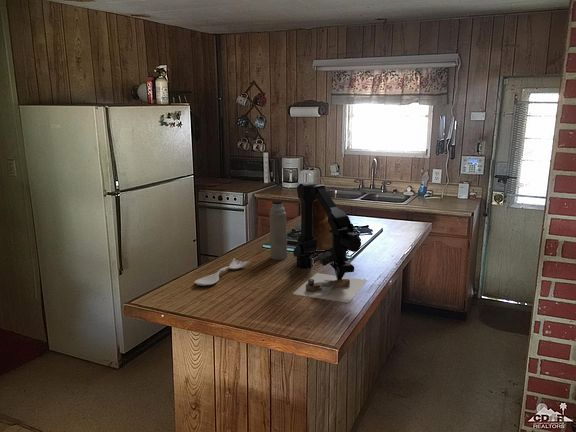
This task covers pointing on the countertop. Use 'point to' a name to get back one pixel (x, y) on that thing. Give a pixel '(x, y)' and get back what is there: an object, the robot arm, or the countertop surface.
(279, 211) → the thermos bottle
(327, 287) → the block
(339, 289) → the base board
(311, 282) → the pintle pin
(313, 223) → the ceramic vessel
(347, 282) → the link
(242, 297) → the countertop surface
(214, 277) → the spoon
